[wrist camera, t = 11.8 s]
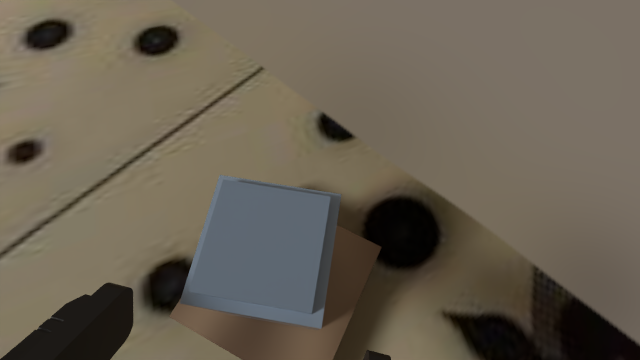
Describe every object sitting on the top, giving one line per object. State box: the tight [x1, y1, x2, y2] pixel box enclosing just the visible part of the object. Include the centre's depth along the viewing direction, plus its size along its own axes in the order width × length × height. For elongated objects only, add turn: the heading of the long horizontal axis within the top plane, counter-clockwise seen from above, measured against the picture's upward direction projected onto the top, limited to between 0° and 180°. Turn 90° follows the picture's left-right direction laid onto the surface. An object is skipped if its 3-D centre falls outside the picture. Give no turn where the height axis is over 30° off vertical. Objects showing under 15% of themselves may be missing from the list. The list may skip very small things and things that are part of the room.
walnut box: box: [169, 225, 381, 360], centre depth 24 cm, size 10×10×5 cm
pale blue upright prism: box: [180, 175, 341, 330], centre depth 17 cm, size 5×5×11 cm
